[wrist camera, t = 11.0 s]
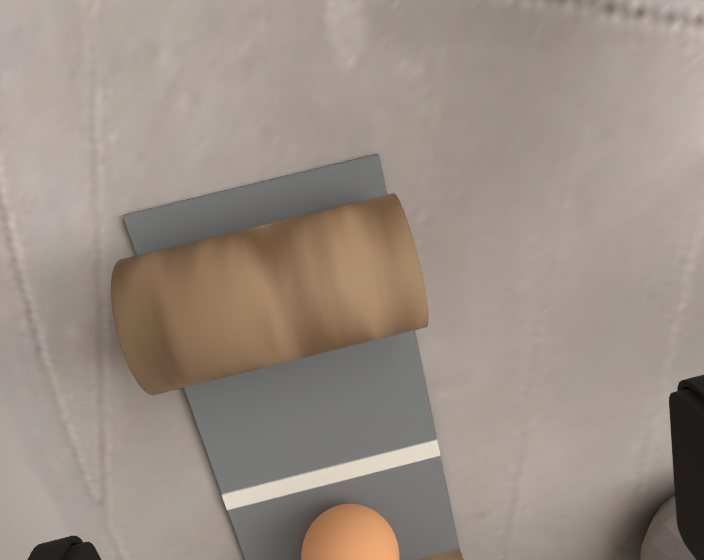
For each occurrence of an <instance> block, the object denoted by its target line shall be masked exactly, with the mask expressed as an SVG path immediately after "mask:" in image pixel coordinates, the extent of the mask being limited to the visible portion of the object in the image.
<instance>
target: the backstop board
mask: <svg viewBox="0 0 704 560" xmlns="http://www.w3.org/2000/svg"><path fill="white" fill-rule="evenodd" d="M416 560H463V557H462V554H461V552H460V549H459V548H458V549H454V550H451V551H447V552H443V553H439V554H435V555H431V556H428V557H424V558H420V559H416Z"/></svg>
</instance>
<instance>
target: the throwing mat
mask: <svg viewBox="0 0 704 560" xmlns="http://www.w3.org/2000/svg"><path fill="white" fill-rule="evenodd" d="M385 195H387V191H386V186H385V181H384V177H383V172H382V167H381V162H380V157H379V154H375V155H371V156H367V157H362V158H358V159H354V160H350V161H346V162H342V163H338V164H333V165H329V166H325V167H321V168H317V169H313V170H308V171H304V172H300V173H296V174H292V175H288V176H283V177H279V178H275V179H271V180H267V181H263V182H259V183H254V184H250V185H246V186H242V187H238V188H234V189H229V190H225V191H221V192H217V193H213V194H209V195H205V196H200V197H196V198H192V199H188V200H184V201H180V202H175V203H171V204H167V205H163V206H159V207H155V208H150V209H146V210H142V211H138V212H134V213H130V214H126V215H124V216H123V219H124V222H125V224H126V227H127V230H128V233H129V236H130V238H131V241H132V244H133V247H134V250H135V252H136V255H137V256H138V255H142V254H146V253H150V252H154V251H158V250H163V249H167V248H171V247H175V246H179V245H183V244H187V243H191V242H195V241H200V240H204V239H208V238H212V237H216V236H220V235H224V234H228V233H233V232H237V231H241V230H245V229H249V228H253V227H257V226H261V225H266V224H270V223H274V222H278V221H282V220H286V219H290V218H294V217H298V216H303V215H307V214H311V213H315V212H319V211H323V210H327V209H331V208H336V207H340V206H344V205H348V204H352V203H356V202H360V201H364V200H369V199H373V198H377V197H381V196H385ZM184 390H185V393H186V395H187V398H188V401H189V404H190V407H191V409H192V412H193V415H194V418H195V421H196V423H197V426H198V429H199V432H200V435H201V437H202V440H203V443H204V446H205V449H206V451H207V454H208V457H209V460H210V463H211V466H212V468H213V471H214V474H215V477H216V480H217V482H218V485H219V488H220V491H221V494H222V498H223V501H224V503H225V506H226V509H227V510H228V513H229V516H230V519H231V522H232V524H233V527H234V530H235V533H236V536H237V538H238V541H239V544H240V547H241V550H242V552H243V555H244V558H245V560H301V552H302V545H303V541H304V538H305V535H306V533H307V531H308V529H309V527H310V526H311V524H312V523H313V522H314V521H315V520H316V518H317V517H318V516H320V515H321V514H322V513H323V512H325V511H326V510H328V509H330V508H332V507H334V506H338V505H342V504H359V505H363V506H366V507H369V508H371V509H373V510H374V511H376V512H377V513H379V514H380V515H381V516H382V517H383V518H384V519H385V520H386V521H387V522H388V524H389V525H390V526H391V528H392V530H393V532H394V534H395V536H396V539H397V542H398V548H399V560H416V559H420V558H424V557H428V556H431V555H435V554H439V553H443V552H447V551H451V550H454V549H458V548H459V545H458V540H457V535H456V530H455V525H454V520H453V515H452V510H451V505H450V501H449V496H448V491H447V486H446V481H445V476H444V471H443V466H442V461H441V455H440V451H439V446H438V441H437V437H436V432H435V427H434V422H433V417H432V412H431V407H430V402H429V397H428V393H427V388H426V383H425V378H424V373H423V368H422V363H421V358H420V353H419V348H418V343H417V339H416V334H415V330H412V331H408V332H404V333H400V334H396V335H392V336H388V337H384V338H380V339H376V340H372V341H368V342H364V343H360V344H356V345H352V346H348V347H344V348H340V349H336V350H332V351H328V352H324V353H320V354H316V355H312V356H308V357H304V358H300V359H296V360H292V361H288V362H284V363H280V364H276V365H272V366H268V367H264V368H260V369H256V370H252V371H248V372H244V373H240V374H236V375H232V376H228V377H224V378H220V379H216V380H212V381H208V382H204V383H200V384H196V385H192V386H188V387H184Z"/></svg>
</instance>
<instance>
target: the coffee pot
mask: <svg viewBox="0 0 704 560" xmlns="http://www.w3.org/2000/svg"><path fill="white" fill-rule="evenodd" d="M640 560H696V559H695V557H694V556H693V555H692V553H691V552H690V551H689V550H688V548H687V547H686V545H685V544H684V542H683V540H682V538H681V535H680V533H679V530H678V526H677V518H676V502H675V495H673V496H672V497H670V498H669V499H668V500H667V501H666V502H665V503H664V504H663V505H662V506H661V507H660V508H659V509H658V511H657V512H656V514H655V515H654V516H653V518H652V520H651V523H650V525H649V528H648V530H647V533H646V535H645V538H644V541H643V543H642V546H641V554H640Z"/></svg>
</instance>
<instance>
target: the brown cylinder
mask: <svg viewBox="0 0 704 560" xmlns="http://www.w3.org/2000/svg"><path fill="white" fill-rule="evenodd" d="M111 298H112V308H113V315H114V321H115V326H116V330H117V334H118V338H119V341H120V345H121V348H122V351H123V353H124V356H125V359H126V361H127V364H128V366H129V368H130V370H131V372H132V374H133V376H134V378H135V379H136V381H137V382H138V384H139V385H140V386H141V387H142V389H143V390H144V391H146V392H147V393H148V394H150V395H156V394H160V393H164V392H168V391H172V390H176V389H180V388H184V387H188V386H192V385H196V384H200V383H204V382H208V381H212V380H216V379H220V378H224V377H228V376H232V375H236V374H240V373H244V372H248V371H252V370H256V369H260V368H264V367H268V366H272V365H276V364H280V363H284V362H288V361H292V360H296V359H300V358H304V357H308V356H312V355H316V354H320V353H324V352H328V351H332V350H336V349H340V348H344V347H348V346H352V345H356V344H360V343H364V342H368V341H372V340H376V339H380V338H384V337H388V336H392V335H396V334H400V333H404V332H408V331H412V330H416V329H420V328H424V327H427V325H428V309H427V300H426V294H425V288H424V283H423V278H422V273H421V269H420V264H419V260H418V256H417V252H416V248H415V244H414V241H413V237H412V234H411V231H410V227H409V224H408V221H407V218H406V216H405V213H404V210H403V208H402V205H401V203H400V201H399V199H398V197H397V196H396V195H395V194H389V195H385V196H381V197H377V198H373V199H369V200H364V201H360V202H356V203H352V204H348V205H344V206H340V207H336V208H331V209H327V210H323V211H319V212H315V213H311V214H307V215H303V216H298V217H294V218H290V219H286V220H282V221H278V222H274V223H270V224H266V225H261V226H257V227H253V228H249V229H245V230H241V231H237V232H233V233H228V234H224V235H220V236H216V237H212V238H208V239H204V240H200V241H195V242H191V243H187V244H183V245H179V246H175V247H171V248H167V249H163V250H158V251H154V252H150V253H146V254H142V255H138V256H134V257H130V258H125V259H122V260H119V261H118V262H117V263H116V265H115V267H114V270H113V274H112V281H111Z"/></svg>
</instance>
